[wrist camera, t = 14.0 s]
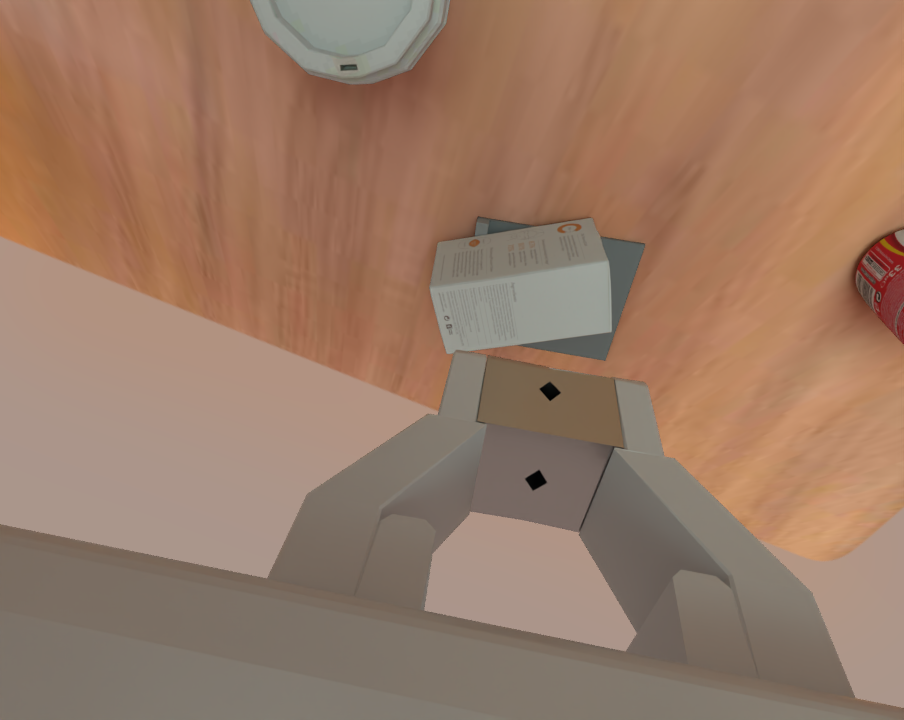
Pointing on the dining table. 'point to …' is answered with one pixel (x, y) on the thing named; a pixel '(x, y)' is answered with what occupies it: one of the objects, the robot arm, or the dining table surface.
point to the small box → (522, 286)
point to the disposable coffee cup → (353, 35)
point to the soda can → (884, 281)
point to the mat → (622, 274)
